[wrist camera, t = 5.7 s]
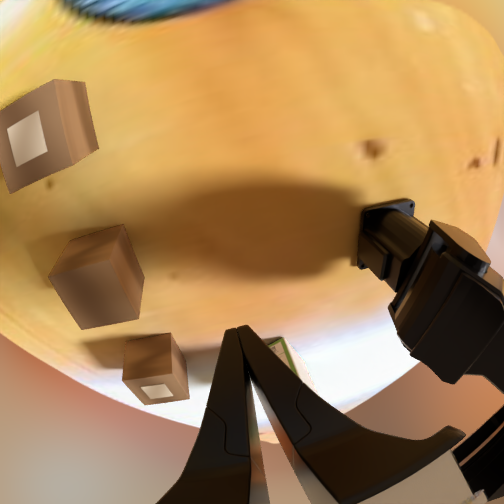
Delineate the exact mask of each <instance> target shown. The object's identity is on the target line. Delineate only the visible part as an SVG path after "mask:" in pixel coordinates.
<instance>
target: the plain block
mask: <svg viewBox="0 0 504 504" xmlns="http://www.w3.org/2000/svg"><path fill="white" fill-rule="evenodd" d="M48 278H49V280H50V281H51V283H52V285H53V286H54V288H55V290H56V292H57V293H58V295H59V296H60V298H61V300H62V301H63V303H64V305H65V306H66V308H67V309H68V311H69V312H70V314H71V315H72V317H73V318H74V320H75V321H76V323H77V324H78V326H79V327H80V328H81V330H84V329H90V328H95V327H101V326H106V325H111V324H116V323H121V322H126V321H131V320H136V319H139V315H140V306H141V298H142V291H143V284H144V275H143V273H142V270H141V268H140V266H139V263H138V261H137V258H136V256H135V253H134V251H133V248H132V246H131V243H130V241H129V238H128V235H127V233H126V230H125V227H124V225H123V224H122V225H119V226H115V227H112V228H109V229H105V230H102V231H99V232H95V233H92V234H89V235H86V236H83V237H80V238H77V239H73V240H70V241H69V243H68V244H67V246H66V248H65V249H64V251H63V252H62V254H61V256H60V257H59V259H58V261H57V262H56V264H55V266H54V267H53V269H52V271H51V273H50V274H49V276H48Z"/></svg>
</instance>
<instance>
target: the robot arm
mask: <svg viewBox="0 0 504 504" xmlns="http://www.w3.org/2000/svg"><path fill="white" fill-rule="evenodd" d="M414 208H415V202H414V201H412V200H411V199H409V200H404V201H399V202H394V203H389V204H384V205H379V206H375V207H370V208H366V209H364V210H363V211H362V213H361V225H360V234H359V244H358V260H357V266H358V268H359V269H361V270H363V269H366V268H369V269H370V270H371V271H372V272H373V273H374V274H375V275H376V276H377V277H378V279H380V280H381V281H382V280H384V281H385V282H386V283H387V284H388V285H389V286H390V287H391V288H392V289H393V290H394V292H396V293H397V294H396V296H395V297H394V299H393V301H392V302H391V303H390V304H389V306H388V310H389V313H390V315H391V318H392V320H393V322H394V325H395V328H396V330H397V335H398V337H399V338H400V340H401V342H402V344H403V346H404V347H405V348H406V349H407V350H408V351H410V356H411V357H413V358H415V359H417V360H419V361H421V362H423V363H424V364H425V365H427V366H428V367H429V368H430V369H431V370H432V371H433V372H434V373H435V374H436V375H437V376H438V377H439V378H440V379H441V380H442V381H443V382H447V383H450V384H455V383H456V382H457V381H458V380H459V379H460V378H461V377H462V376H463V375H479V376H483V377H485V378H486V379H487V380H488V381H490V382H491V383H492V384H493V385H494V386H495V387H496V388H497V389H498V390H500V391H501V392H502V393H503V394H504V279H503V277H502V276H501V275H499V274H498V273H497V272H496V271H495V270H493V269H492V268H491V267H490V264H491V261H490V259H489V257H488V256H487V255H486V253H485V252H484V250H483V249H482V248H481V246H480V245H479V244H478V242H477V241H476V240H475V239H474V238H473V237H471V236H470V235H468V234H467V233H465V232H464V231H462V230H460V229H459V228H457V227H454V226H451V225H448V224H445V223H441V222H438V221H435V220H431V221H430V223H429V227H428V226H426V225H425V224H424V223H422V222H421V221H419V220H418V219H417V218H415V217H414V216H413V215H414ZM367 213H368V214H367ZM366 214H367V215H366ZM237 331H238V332H237ZM238 335H239V336H238ZM241 346H242V347H241ZM244 357H245V358H244ZM246 364H247V365H246ZM248 371H249V372H248ZM249 375H250V376H249ZM250 378H251V380H250ZM251 381H252V384H253V386H254V388H255V390H256V393H257V395H258V397H259V399H260V402H261V404H262V406H263V408H264V410H265V413H266V415H267V417H268V419H269V421H270V423H271V425H272V427H273V430H274V432H275V434H276V436H277V438H278V440H279V442H280V444H281V446H282V448H283V450H284V452H285V454H286V456H287V458H288V460H289V462H290V464H291V466H292V468H293V470H294V472H295V474H296V476H297V478H298V480H299V482H300V483H301V486H302V487H303V489H304V491H305V493H306V495H307V497H308V499H309V500H310V502H311V504H485V503H486V502H488V501H491V500H494V499H497V498H500V497H503V496H504V405H503V406H502V407H501V408H500V409H499V410H497V411H496V412H495V413H494V414H493V415H492V416H491V417H490V418H489V419H488V420H487V421H486V422H485V423H483V424H482V425H481V426H480V427H479V428H478V429H477V430H476V431H475V432H474V433H472V434H471V435H470V436H469V437H468V438H467V439H465V440H464V441H463V442H462V443H460V444H459V445H458V446H457V447H456V448H454V449H453V450H452V451H451V448H452V447H453V446H455V445H456V444H457V443H458V442H459V441H461V440H462V439H463V438H464V437H465V436H466V434H465V433H464V432H463V431H461V430H459V429H456V428H454V427H452V426H449V425H448V426H446V427H444V428H443V429H441V430H440V431H438V432H437V433H435V434H434V435H433V436H431V437H429V438H427V439H424V440H411V439H406V438H401V437H396V436H392V435H388V434H384V433H380V432H376V431H373V430H370V429H367V428H365V427H363V426H361V425H359V424H358V423H356V422H355V421H353V420H352V419H350V418H349V417H347V416H346V415H344V414H343V413H341V412H340V411H338V410H337V409H336V408H334V407H333V406H331V405H330V404H329V403H327V402H326V401H325V400H323V399H322V398H321V397H320V396H318V395H317V394H316V393H315V392H314V391H313V390H312V389H311V388H310V387H309V386H308V385H306V384H305V383H304V382H303V381H302V380H301V379H300V378H299V377H298V376H297V375H296V374H295V373H294V372H293V371H292V370H291V369H290V368H289V367H288V366H287V365H286V364H285V363H284V362H283V361H282V360H281V359H280V358H279V357H278V356H277V355H276V354H275V353H274V352H273V351H272V350H271V349H270V348H269V347H268V346H267V345H266V343H265V342H264V341H263V340H262V339H261V338H260V337H259V336H258V335H257V334H256V333H255V332H254V331H253V330H252V329H251V328H250V327H249V326H248V325H243V326H239V327H237V329H236V328H231V329H227V330H226V331H225V333H224V337H223V341H222V345H221V349H220V353H219V357H218V361H217V365H216V369H215V373H214V377H213V381H212V385H211V389H210V393H209V397H208V401H207V405H206V406H207V407H206V409H205V413H204V417H203V420H202V424H201V427H200V431H199V433H198V436H197V439H196V442H195V444H194V446H193V449H192V451H191V454H190V456H189V458H188V461H187V463H186V466H185V468H184V470H183V472H182V474H181V476H180V477H179V479H178V480H177V482H176V483H175V484H174V485H173V486H172V487H171V488H170V489H169V490H168V491H167V493H166V494H165V495H164V496H163V497H162V498H161V499H160V500H159V501H158V502H157V503H156V504H270V501H269V495H268V489H267V483H266V478H265V471H264V465H263V458H262V452H261V445H260V439H259V432H258V426H257V419H256V412H255V406H254V399H253V392H252V385H251Z"/></svg>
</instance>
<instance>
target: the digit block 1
mask: <svg viewBox="0 0 504 504" xmlns="http://www.w3.org/2000/svg"><path fill="white" fill-rule="evenodd" d="M97 149H99V146H98V142H97V138H96V134H95V130H94V125H93V121H92V116H91V111H90V107H89V101H88V96H87V90H86V85H85V82H78V81H69V80H58V79H54V80H52V81H50V82H48V83H46V84H44V85H42V86H40V87H38V88H37V89H35V90H33V91H31V92H30V93H28V94H26V95H25V96H23V97H21V98H20V99H18V100H16V101H15V102H13V103H12V104H10V105H9V106H7V107H6V108H4V109H3V110H1V111H0V164H1V168H2V171H3V175H4V178H5V181H6V184H7V187H8V190H9V193H10V194H12V193H13V192H15V191H17V190H19V189H21V188H23V187H25V186H27V185H29V184H31V183H34V182H36V181H38V180H40V179H42V178H44V177H47V176H49V175H51V174H53V173H56V172H58V171H60V170H63V169H65V168H68V167H70V166H72V165H74V164H76V163H77V162H79V161H80V160H82V159H83V158H85V157H86V156H88V155H89V154H91V153H92V152H94V151H96V150H97Z"/></svg>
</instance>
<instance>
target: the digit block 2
mask: <svg viewBox="0 0 504 504" xmlns="http://www.w3.org/2000/svg"><path fill="white" fill-rule="evenodd" d="M122 381H123V382H124V383H125V385H126V386H127V387H128V388H129V389H130V390H131V391H132V392H133V393H134V394H135V396H136V397H137V398H138V399H139V400H140V401H141V402H142V403H143V404H144V405H151V404H159V403H167V402H173V401H180V400H186V399H190V396H189V387H188V378H187V367H186V361H185V359H184V357H183V355H182V353H181V351H180V349H179V348H178V346H177V344H176V342H175V340H174V338H173V336H172V334H171V333H168V334H163V335H157V336H152V337H147V338H142V339H136V340H131V341H126V346H125V355H124V365H123V376H122Z"/></svg>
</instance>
